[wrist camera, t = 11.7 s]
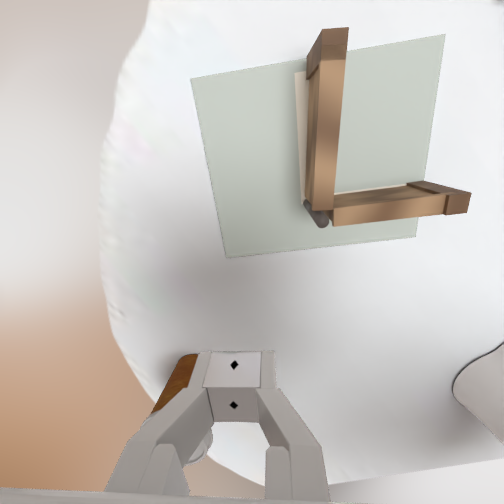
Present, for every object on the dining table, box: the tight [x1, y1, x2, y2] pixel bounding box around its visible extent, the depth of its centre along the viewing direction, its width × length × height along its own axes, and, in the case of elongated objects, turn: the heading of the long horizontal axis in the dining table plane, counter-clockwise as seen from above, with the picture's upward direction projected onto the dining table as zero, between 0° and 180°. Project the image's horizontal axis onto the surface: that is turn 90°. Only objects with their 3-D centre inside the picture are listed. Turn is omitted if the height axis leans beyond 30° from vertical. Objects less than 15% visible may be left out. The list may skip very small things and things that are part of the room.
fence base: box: [303, 181, 471, 228], centre depth 25 cm, size 14×2×7 cm, turn 98°
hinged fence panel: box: [305, 27, 349, 211], centre depth 22 cm, size 13×2×6 cm, turn 3°
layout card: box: [191, 34, 445, 258], centre depth 28 cm, size 24×20×1 cm
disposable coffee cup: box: [140, 354, 213, 466], centre depth 36 cm, size 10×10×12 cm
